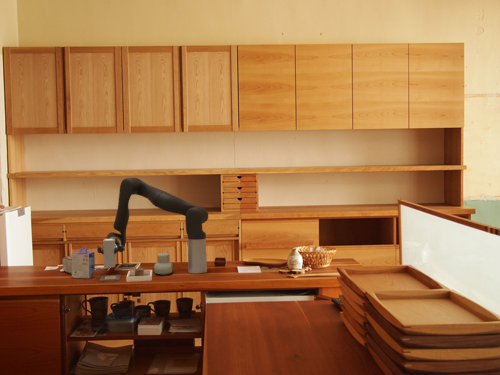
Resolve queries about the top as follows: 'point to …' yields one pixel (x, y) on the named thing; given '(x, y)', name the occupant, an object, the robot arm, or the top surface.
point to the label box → (109, 253)
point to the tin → (67, 264)
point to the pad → (110, 278)
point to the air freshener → (163, 264)
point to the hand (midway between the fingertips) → (108, 251)
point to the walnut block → (139, 272)
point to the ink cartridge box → (83, 264)
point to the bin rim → (139, 278)
